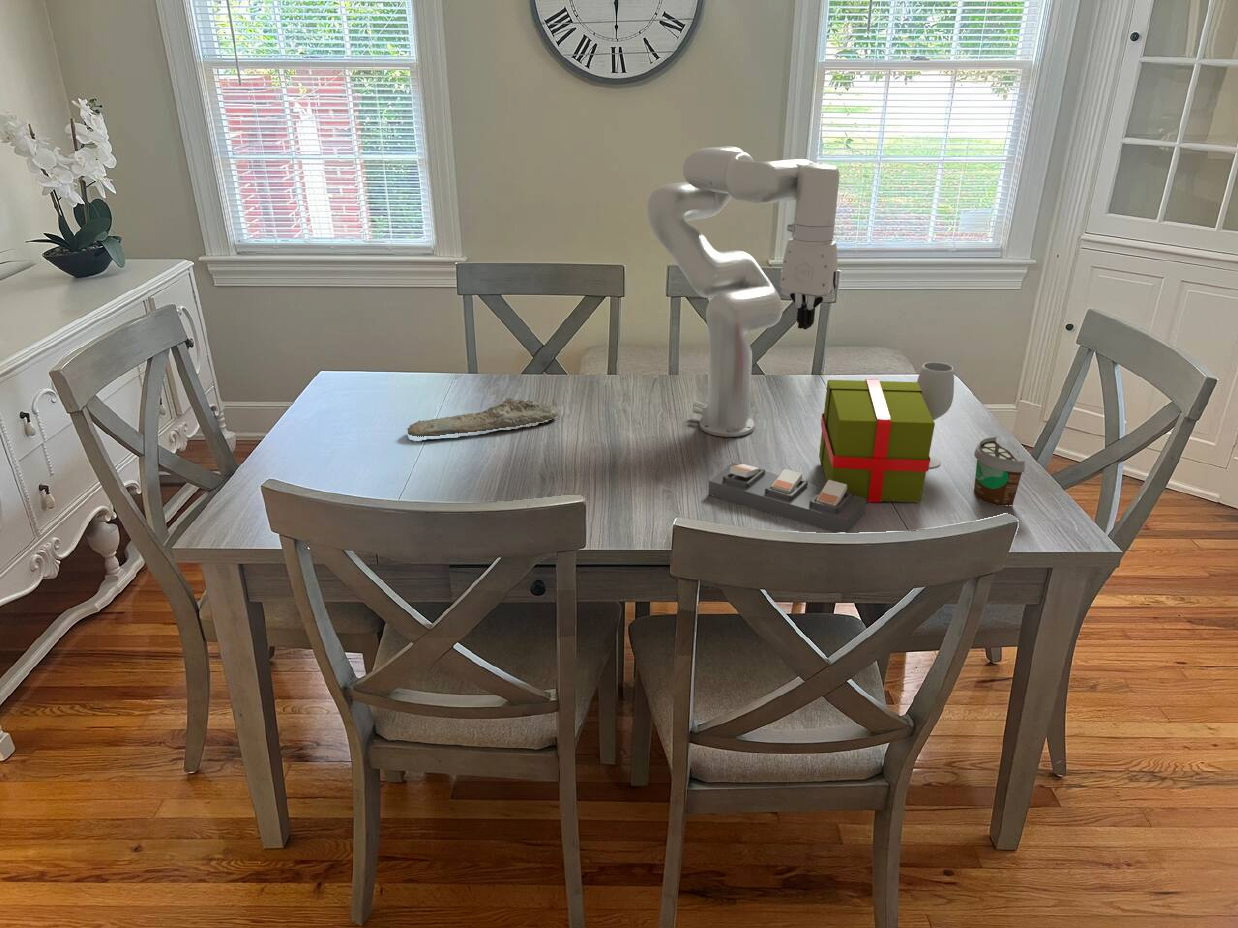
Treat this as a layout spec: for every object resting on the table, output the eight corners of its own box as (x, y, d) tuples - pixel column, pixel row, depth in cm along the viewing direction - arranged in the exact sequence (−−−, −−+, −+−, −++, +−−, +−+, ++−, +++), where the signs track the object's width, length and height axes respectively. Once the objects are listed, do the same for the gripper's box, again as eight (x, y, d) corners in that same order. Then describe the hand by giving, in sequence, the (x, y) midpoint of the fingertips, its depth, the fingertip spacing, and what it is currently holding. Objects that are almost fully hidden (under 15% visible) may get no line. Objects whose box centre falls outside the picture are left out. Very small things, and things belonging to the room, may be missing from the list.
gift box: (915, 521, 170) (893, 457, 192) (955, 427, 160) (926, 371, 181) (811, 499, 170) (800, 438, 192) (844, 404, 160) (828, 351, 181)
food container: (956, 482, 178) (964, 436, 173) (986, 481, 178) (995, 435, 174) (984, 511, 167) (994, 463, 162) (1016, 510, 167) (1026, 462, 163)
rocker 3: (816, 504, 163) (816, 499, 162) (828, 484, 166) (828, 479, 165) (835, 509, 161) (835, 504, 160) (847, 488, 164) (846, 483, 163)
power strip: (708, 494, 173) (709, 476, 171) (732, 475, 180) (733, 458, 179) (845, 534, 159) (847, 515, 157) (864, 512, 166) (867, 493, 164)
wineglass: (922, 471, 182) (938, 375, 173) (896, 457, 188) (910, 364, 179) (949, 464, 185) (966, 369, 176) (922, 450, 191) (937, 358, 182)
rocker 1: (729, 472, 171) (730, 466, 171) (741, 469, 175) (743, 463, 175) (746, 477, 169) (747, 470, 169) (758, 474, 174) (759, 467, 173)
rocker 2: (771, 490, 167) (771, 485, 166) (784, 473, 171) (784, 468, 170) (789, 495, 165) (789, 490, 164) (802, 478, 169) (801, 472, 168)
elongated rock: (405, 436, 203) (412, 455, 195) (401, 416, 200) (409, 434, 192) (550, 408, 213) (563, 425, 205) (549, 388, 211) (562, 404, 203)
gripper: (768, 232, 168) (762, 325, 176) (843, 241, 160) (833, 338, 168) (785, 226, 173) (778, 317, 181) (858, 234, 166) (847, 329, 174)
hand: (804, 327), depth 175 cm, fingers closed
